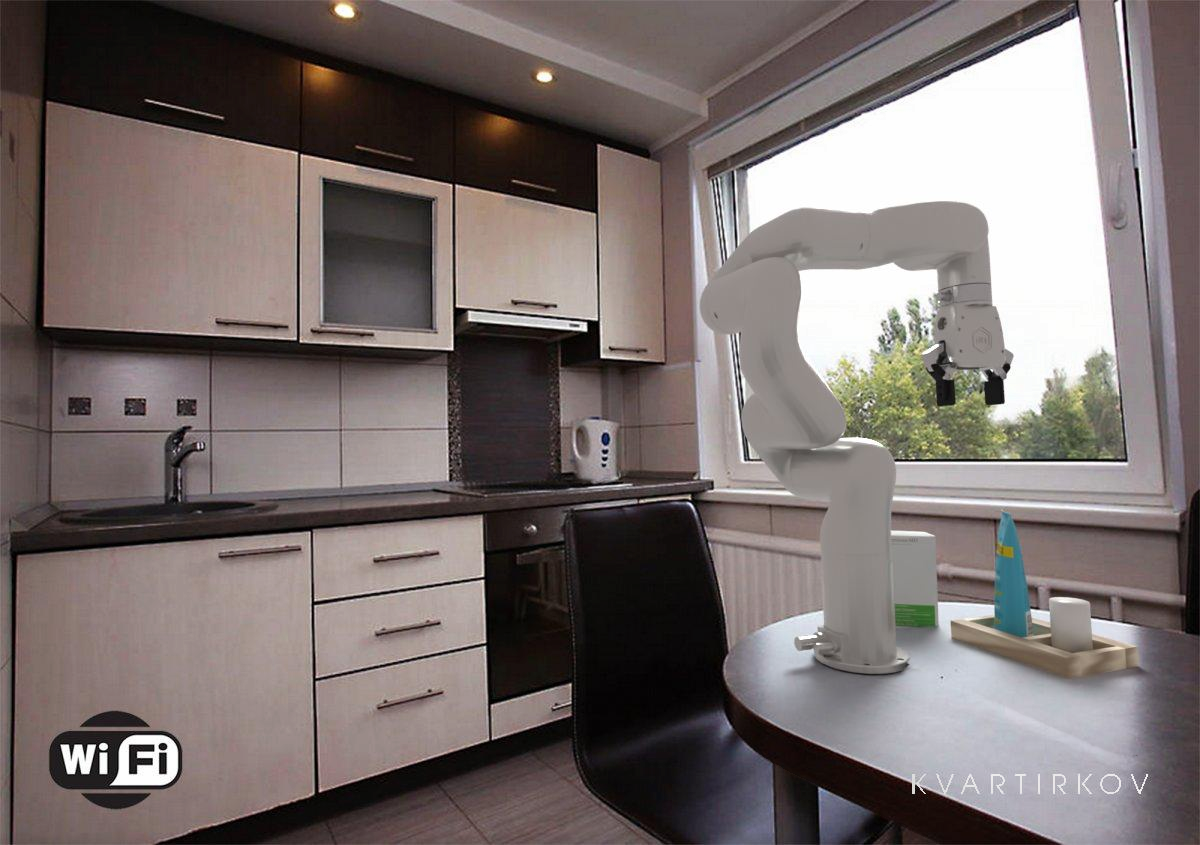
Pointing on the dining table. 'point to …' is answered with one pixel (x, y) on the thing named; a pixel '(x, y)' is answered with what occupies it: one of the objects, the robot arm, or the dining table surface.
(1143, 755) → the dining table surface
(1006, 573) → the tube
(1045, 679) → the dining table surface
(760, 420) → the robot arm
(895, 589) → the skincare box
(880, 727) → the dining table surface
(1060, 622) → the white rounded cylinder
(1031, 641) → the birch holder
